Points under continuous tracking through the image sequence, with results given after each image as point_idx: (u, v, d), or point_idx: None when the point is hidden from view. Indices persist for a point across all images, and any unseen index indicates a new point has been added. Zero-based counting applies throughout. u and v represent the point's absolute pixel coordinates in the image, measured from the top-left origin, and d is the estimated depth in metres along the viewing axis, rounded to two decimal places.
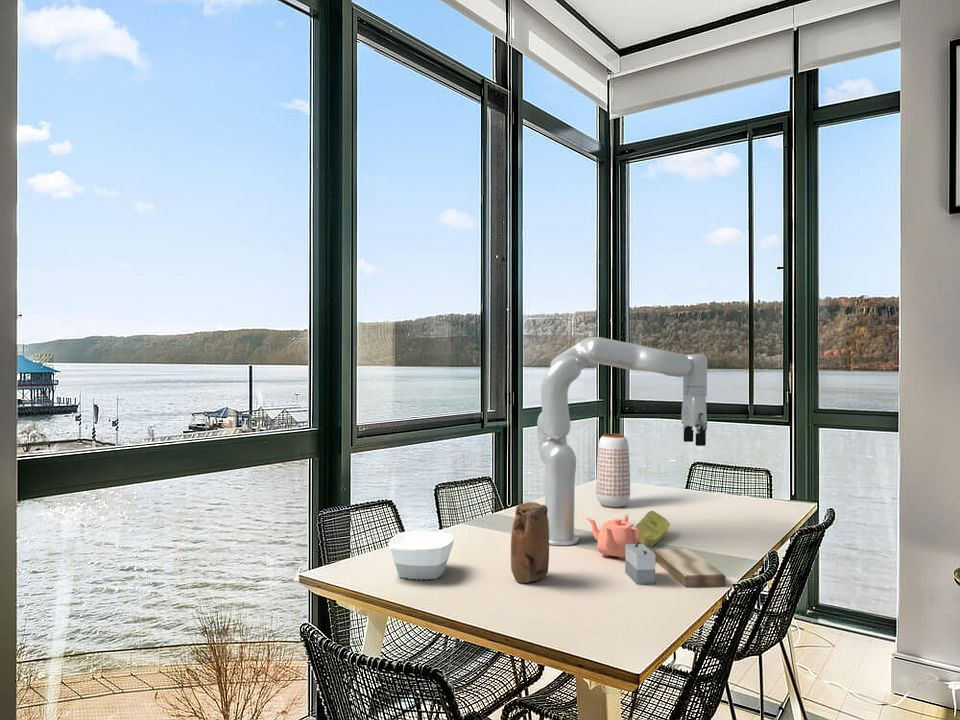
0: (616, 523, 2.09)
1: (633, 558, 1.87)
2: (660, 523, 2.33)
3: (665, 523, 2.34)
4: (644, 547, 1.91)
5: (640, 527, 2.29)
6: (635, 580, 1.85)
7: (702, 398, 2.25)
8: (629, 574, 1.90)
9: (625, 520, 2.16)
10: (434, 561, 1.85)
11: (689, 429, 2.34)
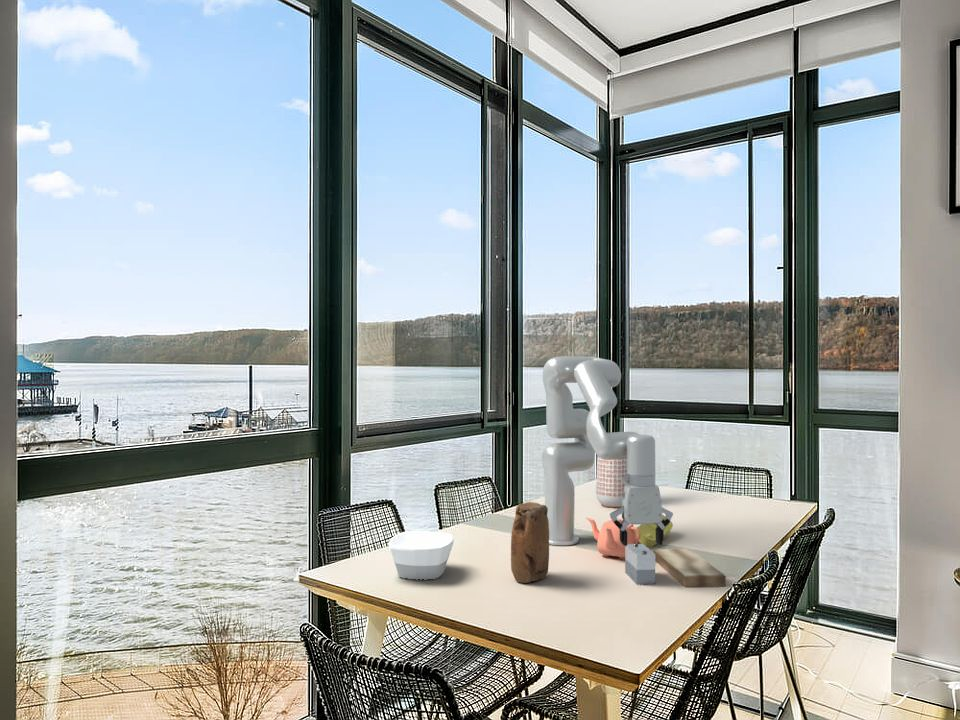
0: None
1: (633, 558, 1.87)
2: None
3: (668, 524, 2.33)
4: (644, 547, 1.91)
5: (642, 527, 2.29)
6: (635, 580, 1.85)
7: None
8: (629, 574, 1.90)
9: None
10: (434, 561, 1.85)
11: None
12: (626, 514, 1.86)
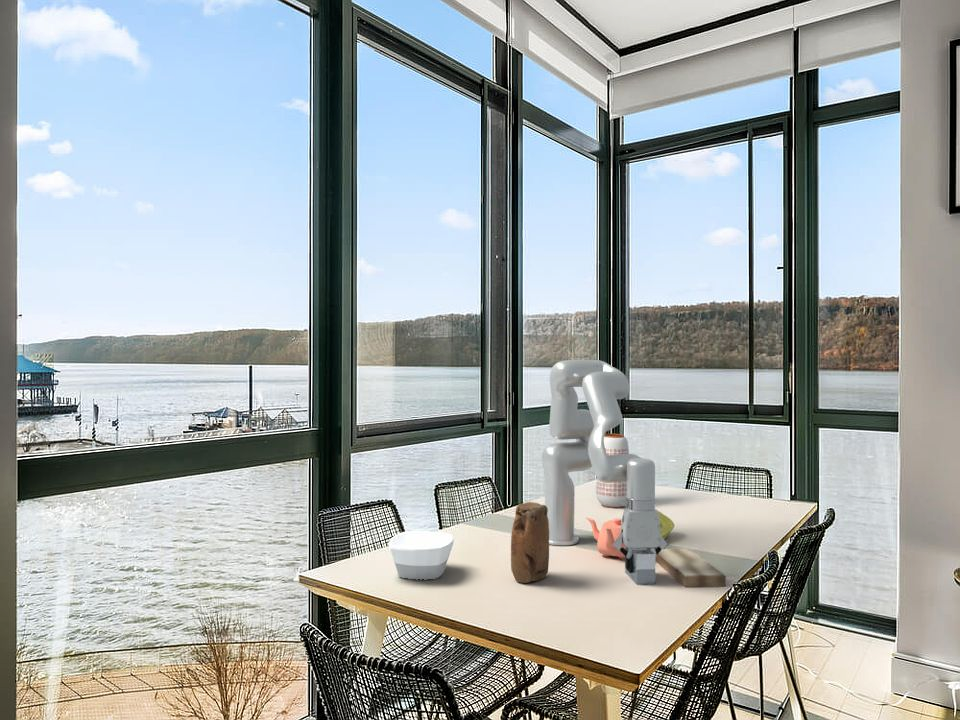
0: (616, 523, 2.09)
1: (633, 558, 1.87)
2: (665, 524, 2.32)
3: (670, 524, 2.32)
4: None
5: None
6: (635, 580, 1.85)
7: None
8: (629, 574, 1.90)
9: None
10: (434, 561, 1.85)
11: None
12: (625, 538, 1.86)
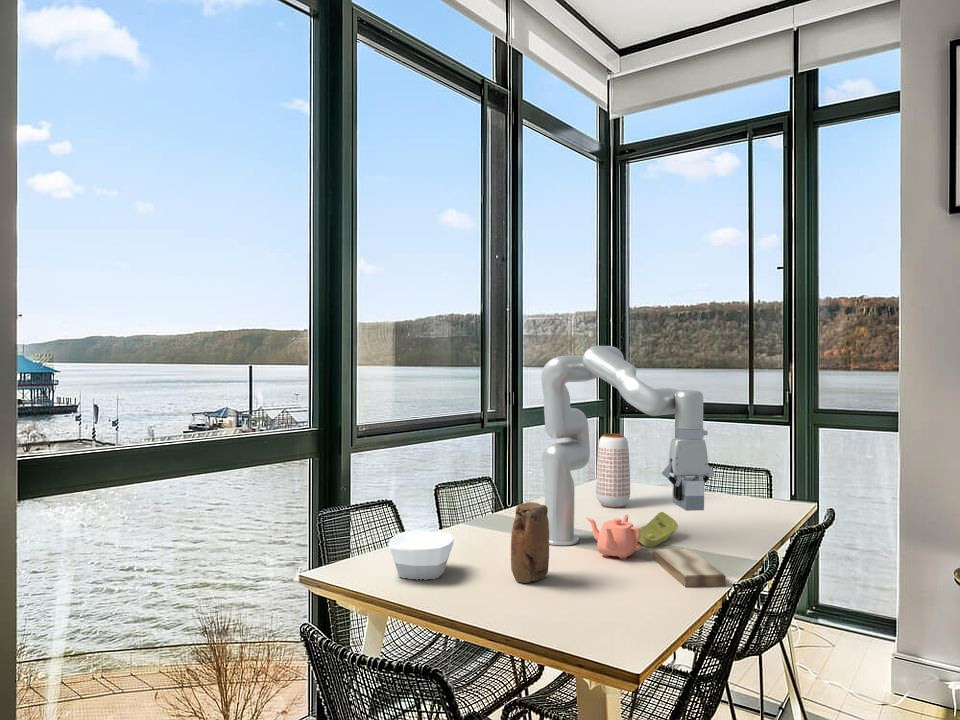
0: (616, 523, 2.09)
1: None
2: (669, 525, 2.31)
3: (674, 525, 2.31)
4: (683, 478, 1.93)
5: (646, 528, 2.28)
6: None
7: (674, 441, 1.93)
8: None
9: (625, 520, 2.16)
10: (434, 561, 1.85)
11: None
12: None
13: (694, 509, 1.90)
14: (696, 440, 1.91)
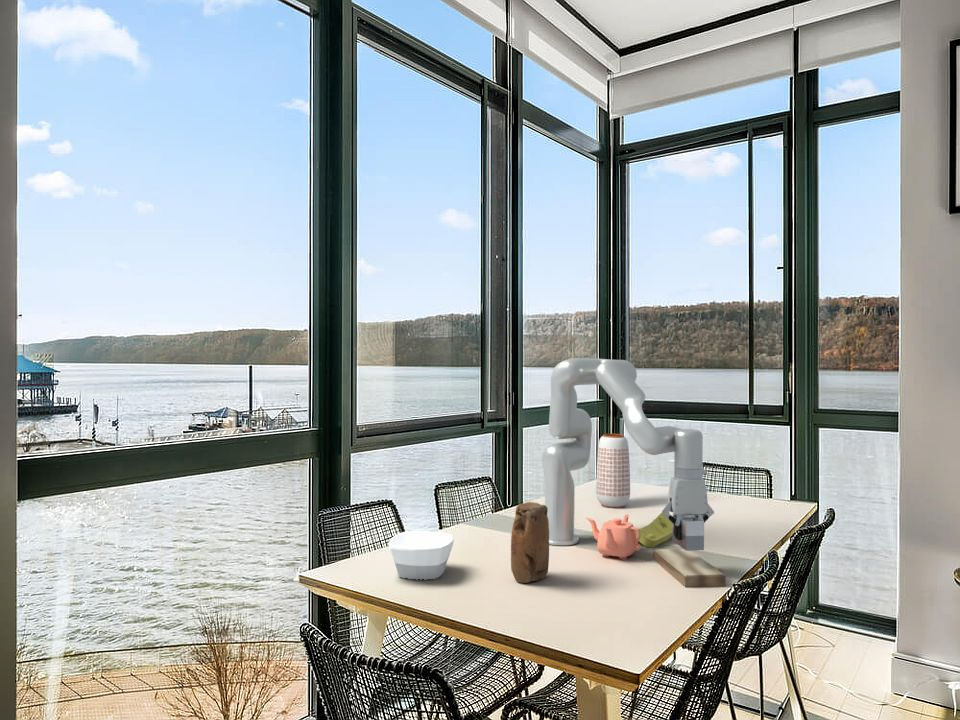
0: (616, 523, 2.09)
1: None
2: (670, 525, 2.31)
3: None
4: (683, 518, 1.93)
5: (647, 528, 2.28)
6: None
7: (673, 481, 1.93)
8: None
9: (625, 520, 2.16)
10: (434, 561, 1.85)
11: None
12: None
13: (694, 549, 1.90)
14: (696, 480, 1.91)
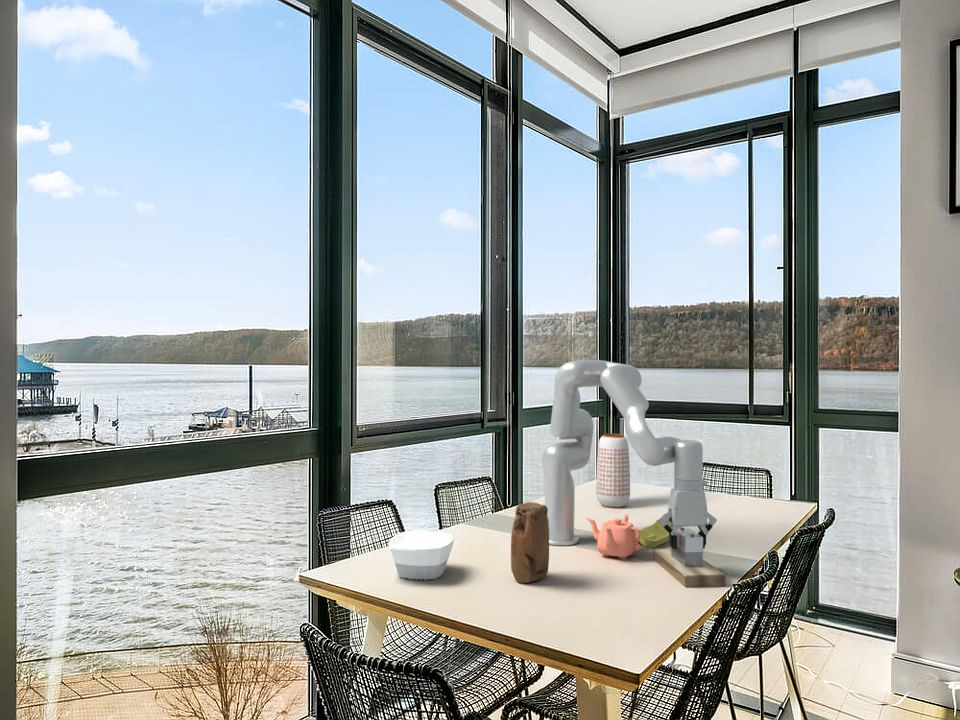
0: (616, 523, 2.09)
1: None
2: None
3: (679, 526, 2.30)
4: (682, 534, 1.93)
5: (649, 528, 2.28)
6: None
7: (673, 492, 1.93)
8: None
9: (625, 520, 2.16)
10: (434, 561, 1.85)
11: (701, 533, 1.95)
12: None
13: (693, 565, 1.90)
14: (695, 491, 1.91)
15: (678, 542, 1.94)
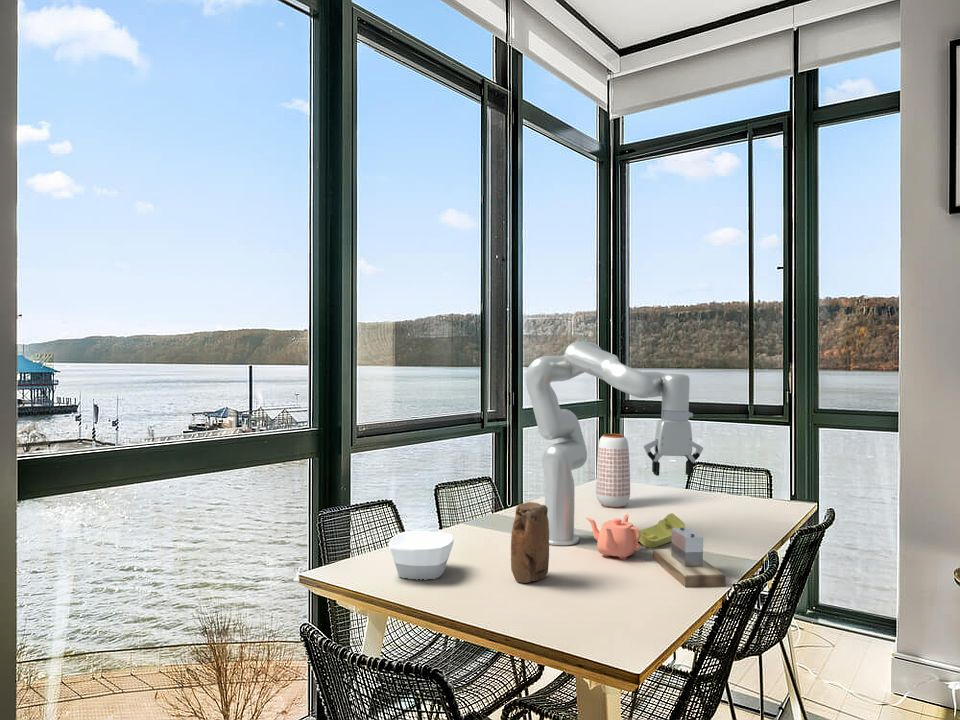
0: (616, 523, 2.09)
1: None
2: (676, 526, 2.29)
3: (682, 527, 2.29)
4: (682, 534, 1.93)
5: (651, 528, 2.27)
6: None
7: (660, 423, 2.01)
8: None
9: (625, 520, 2.16)
10: (434, 561, 1.85)
11: (688, 461, 2.03)
12: None
13: (693, 565, 1.90)
14: (681, 421, 1.98)
15: (678, 542, 1.94)
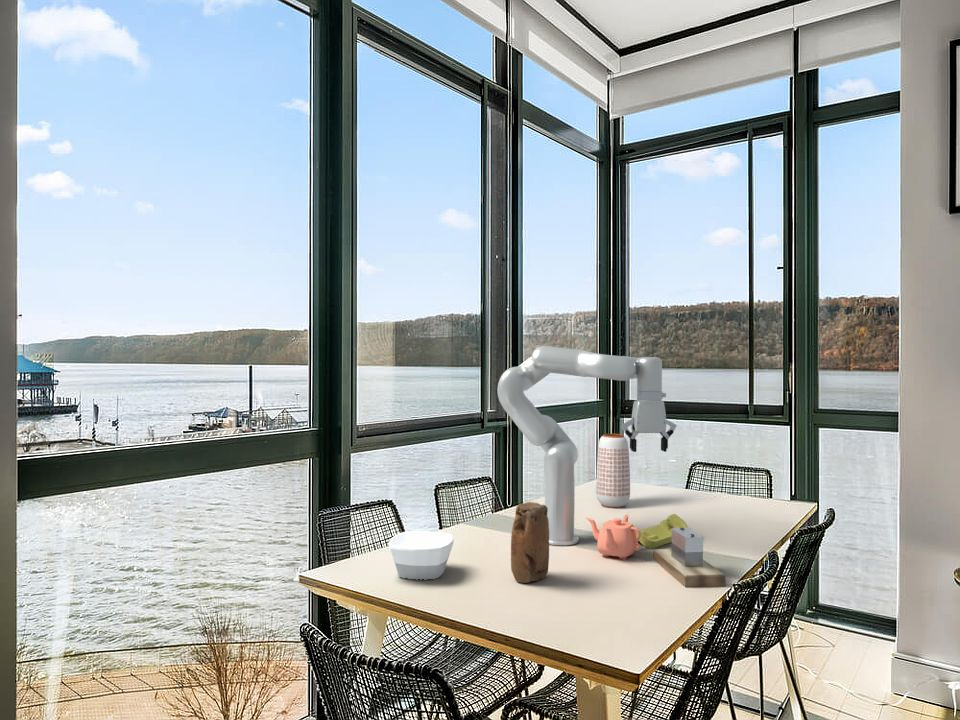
0: (616, 523, 2.09)
1: None
2: (678, 527, 2.28)
3: None
4: (682, 534, 1.93)
5: (652, 529, 2.27)
6: None
7: (636, 402, 2.16)
8: None
9: (625, 520, 2.16)
10: (434, 561, 1.85)
11: (663, 438, 2.18)
12: None
13: (693, 565, 1.90)
14: (655, 401, 2.14)
15: (678, 542, 1.94)
